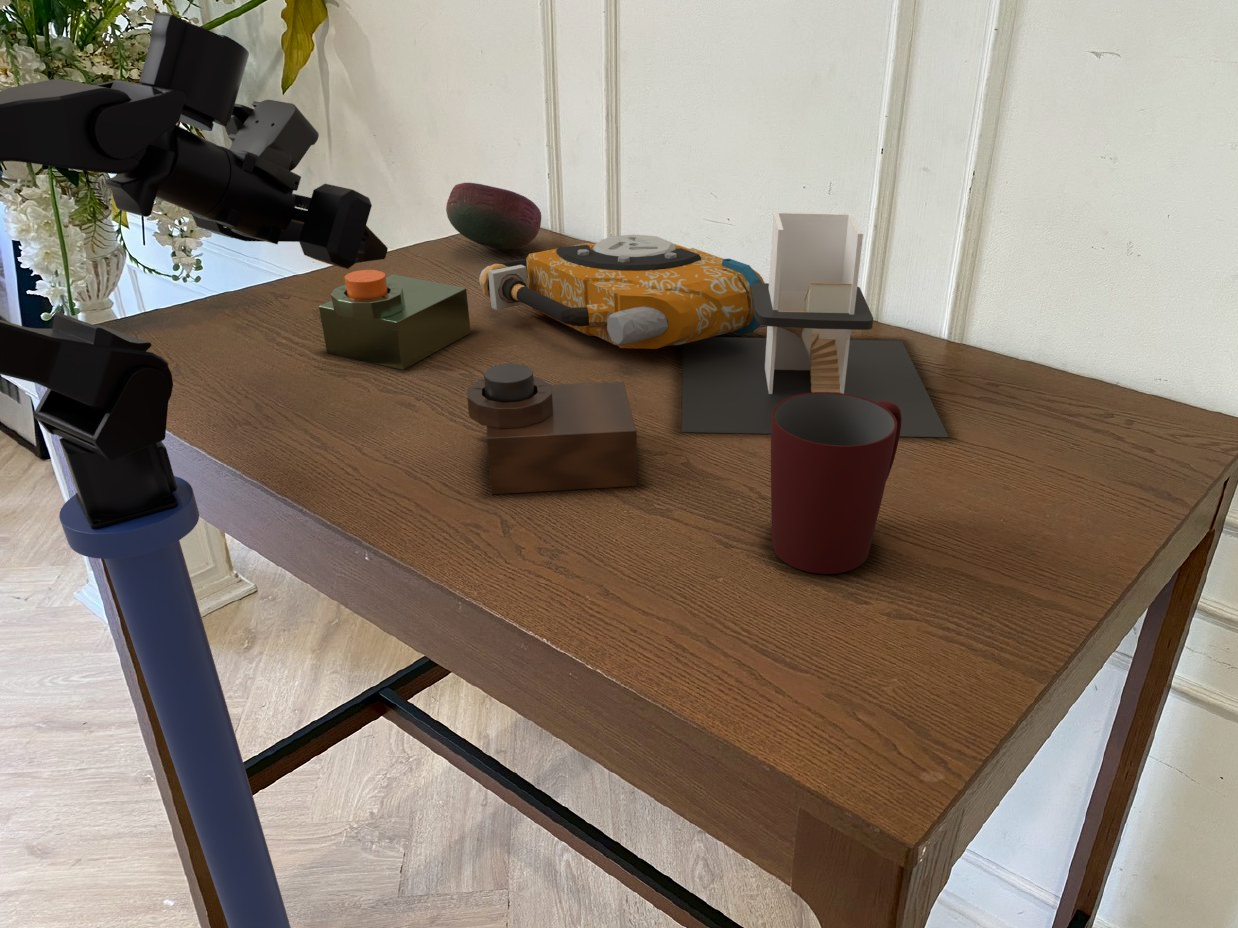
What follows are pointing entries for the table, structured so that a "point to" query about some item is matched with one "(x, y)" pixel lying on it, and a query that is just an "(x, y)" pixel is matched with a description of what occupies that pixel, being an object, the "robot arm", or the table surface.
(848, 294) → the dark square-based piece
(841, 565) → the mug
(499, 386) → the black button
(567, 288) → the device
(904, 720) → the table surface
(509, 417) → the walnut block
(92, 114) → the robot arm
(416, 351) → the green block
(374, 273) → the orange button
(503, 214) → the bowl
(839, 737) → the table surface
